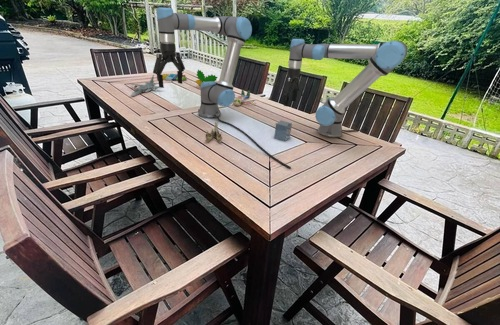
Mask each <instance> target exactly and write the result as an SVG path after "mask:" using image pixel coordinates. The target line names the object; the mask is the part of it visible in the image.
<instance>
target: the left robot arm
mask: <svg viewBox="0 0 500 325" xmlns="http://www.w3.org/2000/svg"><path fill="white" fill-rule="evenodd" d="M156 15H157V16H156V19H157V27H158V38H159V48H160V51H161V53H156V59H155V61H154V62H155V63H154V66H153V69H152V70H153V71H152V73H153V75H156V79H157V80H156V81H158V83H159V84H158V87H161V88H160V89H165V86H164V79H163V74H162V73H163V71H164V69H165V67H166V65H167V64H168V63H172V64H173V65H174V66H175V68H176V70H177V71H176V74H177V76H178V80H177V84H179V85H182V84H183V81H182V77H183V75H184V74H183V72H184V71H185V70H186V67H185V64H184V62H183V60H182V57H181V52H179V51H177V48H176V35H175V31H200V32H201V31H202V32H212V33H213V34H215V35H221V36H224V37H226V40H227V46H226V51H225V54H224V58H223V63H222V67H221V70H220V75H219V80H218V81H208V82H202V83H201V86H199V89H200V106H199V109H198V116H199V117H201V118H205V119H214V118H216V119H217V120H218V121H219V122H221V123H222V124H227V125H229V126H231V127H233V128H234V129H236V130H238V131H240V132H241V133H243V135H245V136H246V137H247V138H248V139H249V140H251V141H252V142H253V143H254V144H255V145H256V147H258V148H259V149H260V150H261V151H263V152H264V153H265V154H266V155H268V156H269V157H270V158H272V159H273V160H275V161H276V162H278V163H279V164H280V165H283V166H284V167H286V168H288V169H291V166H290V165H288V164H286V163H285V162H282V161H281V160H279V159H278V158H277V157H275V156H274V155H272V154H270V153H269V152H268V151H267V150H266V149H264V148H263V147H262V146H261V145H260V144H259V143H258V142H256V140H254V139H253V138H252V137H251V136H250V135H249V134H248V133H246V132H245V131H244V130H242V129H241V128H239V127H237V125H236V126H235V125H234V124H232V123H230V122H226V121H224V120H221V119H220V118H219V117H221V110H220V108H219V106H220V107H225V108H226V107H229V106H230V105H232V104H233V103H234V100H235V99H236V93H235V91H234V88H235V86H234V85H233V82H234V78H235V74H236V70H237V66H238V62H239V58H240V54H241V50H242V47H243V45H245V44H246V40H249V38H251V36H252V32H253V27H252V24H251V21H250V20H249V19H248V18H247V17H244V16H232V15H226V16H215V15H214V16H213V17H208V16H201V15H194V14H191V13H180V12H174V9H173V8H171V7H161V6H160V7H157V8H156Z"/></svg>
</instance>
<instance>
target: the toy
mask: <svg viewBox="0 0 500 325" xmlns="http://www.w3.org/2000/svg"><path fill="white" fill-rule="evenodd" d="M240 92H241V93H240V95H238V96H237V97H235V99H234V101H233V103H232V104H233V105H235V106H242V103H243V104H247V105H252V106H255V105H256V104H257V103H256V102H254V101H253V100H252V101H251V102H250V101H248V100H246V99H248V98H250V97H251V90H250V89H249V90H248V91H247V92H246V93H245V91H244V89H242V90H241V91H240Z"/></svg>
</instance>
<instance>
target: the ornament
mask: <svg viewBox="0 0 500 325" xmlns="http://www.w3.org/2000/svg"><path fill="white" fill-rule="evenodd" d="M196 76H197V80H195V81H194V82H195V84H197V86H199V87H200V86H201V83H202V82H208V81H215V82H217V79H218V76H216V74H214V75H213V74H208V75H205V73H204V71H202V70H199V69H197V71H196Z"/></svg>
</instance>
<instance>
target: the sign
mask: <svg viewBox="0 0 500 325" xmlns="http://www.w3.org/2000/svg"><path fill="white" fill-rule="evenodd" d="M162 75H163V80H165V81H172V82H173V81H178V76H177V73H163V74H162ZM184 81H187V77H186V74H183V77H182V82H184Z"/></svg>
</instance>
